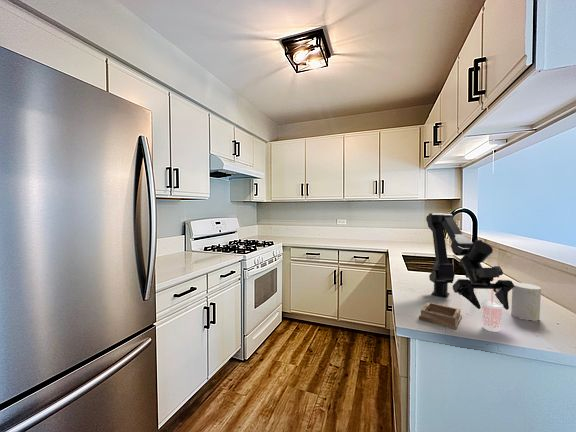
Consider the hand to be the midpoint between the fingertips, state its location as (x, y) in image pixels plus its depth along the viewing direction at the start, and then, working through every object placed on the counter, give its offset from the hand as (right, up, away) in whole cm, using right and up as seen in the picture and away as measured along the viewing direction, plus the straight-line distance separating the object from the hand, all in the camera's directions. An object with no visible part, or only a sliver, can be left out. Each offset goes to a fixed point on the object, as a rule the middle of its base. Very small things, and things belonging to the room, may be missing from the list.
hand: (493, 309), depth 91 cm
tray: (-13, -7, +9) cm, 17 cm away
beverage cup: (0, -7, +1) cm, 8 cm away
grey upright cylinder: (+21, -7, +11) cm, 24 cm away
